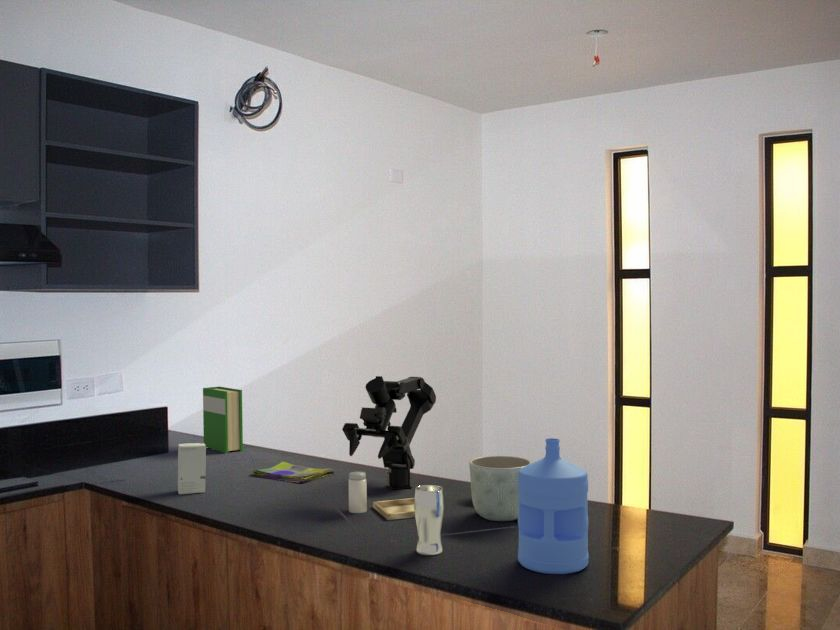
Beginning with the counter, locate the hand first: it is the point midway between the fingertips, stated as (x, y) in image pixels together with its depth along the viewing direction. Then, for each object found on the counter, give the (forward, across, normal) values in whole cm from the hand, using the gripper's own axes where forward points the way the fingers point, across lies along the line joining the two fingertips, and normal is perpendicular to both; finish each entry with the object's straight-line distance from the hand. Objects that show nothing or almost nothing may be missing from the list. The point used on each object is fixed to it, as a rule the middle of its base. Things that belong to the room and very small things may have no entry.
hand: (364, 456), depth 231 cm
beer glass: (+33, +33, -10) cm, 48 cm away
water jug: (+31, +62, -9) cm, 70 cm away
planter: (+8, +40, +12) cm, 43 cm away
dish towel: (-10, -41, +29) cm, 51 cm away
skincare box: (+14, -58, +7) cm, 60 cm away
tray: (+12, +14, +8) cm, 20 cm away
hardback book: (-31, -92, +48) cm, 108 cm away
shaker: (+15, +2, +6) cm, 16 cm away
